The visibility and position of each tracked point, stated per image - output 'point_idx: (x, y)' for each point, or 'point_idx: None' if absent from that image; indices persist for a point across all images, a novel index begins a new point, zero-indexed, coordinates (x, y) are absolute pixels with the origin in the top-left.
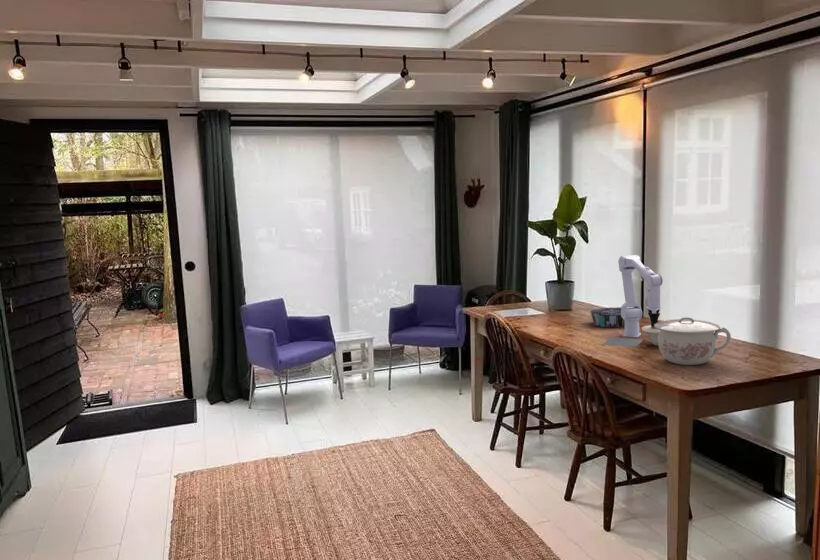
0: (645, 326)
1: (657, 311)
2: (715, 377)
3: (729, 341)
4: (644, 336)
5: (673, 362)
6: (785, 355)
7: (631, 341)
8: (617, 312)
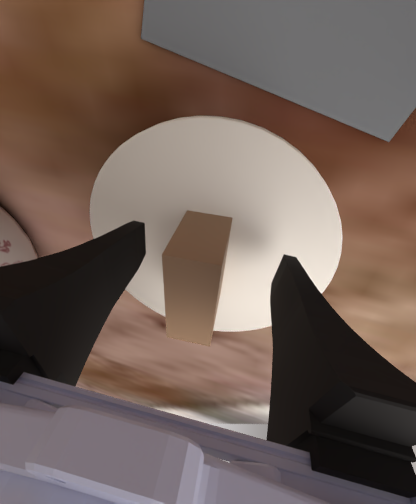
0: (300, 180)
1: (273, 425)
2: None
3: None
4: None
5: None
6: (133, 395)
7: (342, 9)
8: None
